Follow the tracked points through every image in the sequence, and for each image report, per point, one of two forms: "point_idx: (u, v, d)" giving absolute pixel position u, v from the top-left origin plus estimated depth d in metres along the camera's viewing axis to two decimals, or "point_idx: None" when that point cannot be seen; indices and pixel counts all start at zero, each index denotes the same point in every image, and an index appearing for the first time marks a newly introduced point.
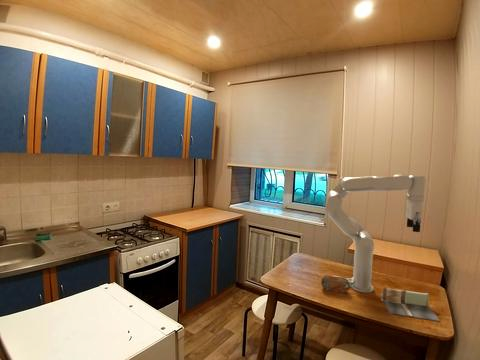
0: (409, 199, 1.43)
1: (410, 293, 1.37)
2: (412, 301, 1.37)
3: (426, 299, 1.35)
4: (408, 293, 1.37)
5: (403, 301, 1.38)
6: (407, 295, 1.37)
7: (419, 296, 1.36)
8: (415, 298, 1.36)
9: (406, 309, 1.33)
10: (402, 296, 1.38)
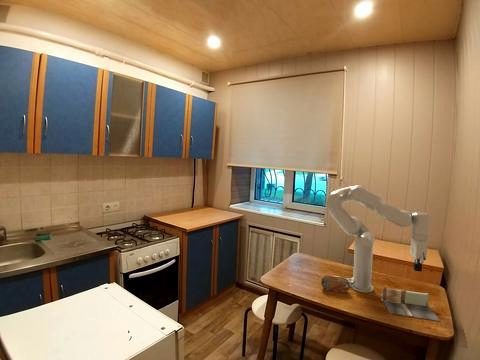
0: (413, 238, 1.38)
1: (410, 293, 1.37)
2: (412, 301, 1.37)
3: (426, 299, 1.35)
4: (408, 293, 1.37)
5: (403, 301, 1.38)
6: (407, 295, 1.37)
7: (419, 296, 1.36)
8: (415, 298, 1.36)
9: (406, 309, 1.33)
10: (402, 296, 1.38)
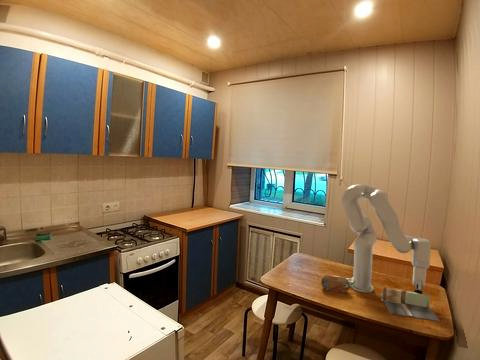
0: (413, 263, 1.37)
1: (410, 293, 1.37)
2: (412, 302, 1.37)
3: (427, 300, 1.34)
4: (408, 293, 1.37)
5: (403, 301, 1.38)
6: (407, 295, 1.37)
7: (419, 297, 1.35)
8: (416, 299, 1.36)
9: (406, 309, 1.33)
10: (402, 296, 1.38)
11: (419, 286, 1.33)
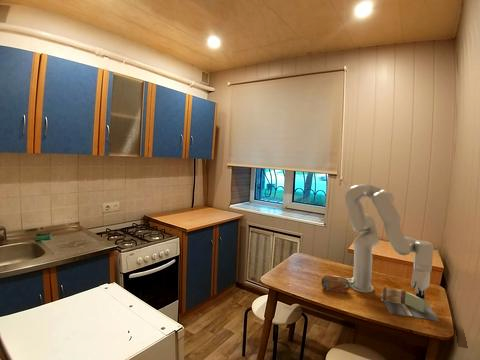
0: (413, 266, 1.34)
1: (408, 294, 1.35)
2: (410, 303, 1.35)
3: (423, 305, 1.29)
4: (407, 294, 1.36)
5: (403, 301, 1.38)
6: (406, 296, 1.37)
7: (417, 301, 1.32)
8: (413, 302, 1.33)
9: (406, 309, 1.33)
10: (402, 296, 1.38)
11: (416, 289, 1.31)
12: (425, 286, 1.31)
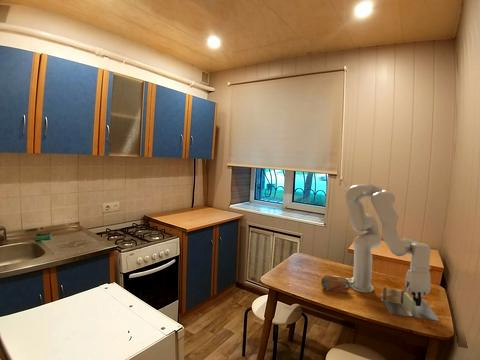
0: None
1: (405, 294, 1.35)
2: (405, 303, 1.35)
3: (411, 306, 1.29)
4: (404, 294, 1.36)
5: None
6: (403, 296, 1.37)
7: (408, 301, 1.32)
8: (407, 302, 1.33)
9: (406, 309, 1.33)
10: (402, 296, 1.38)
11: (407, 289, 1.31)
12: (419, 289, 1.29)
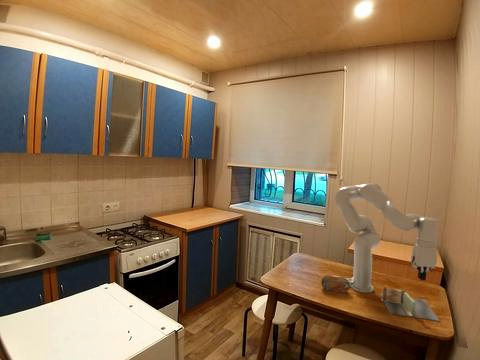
0: None
1: (405, 294, 1.35)
2: (405, 303, 1.35)
3: (411, 306, 1.29)
4: (404, 294, 1.36)
5: None
6: (403, 296, 1.37)
7: (408, 301, 1.32)
8: (407, 302, 1.33)
9: (406, 309, 1.33)
10: (402, 296, 1.38)
11: (413, 263, 1.30)
12: (425, 263, 1.28)
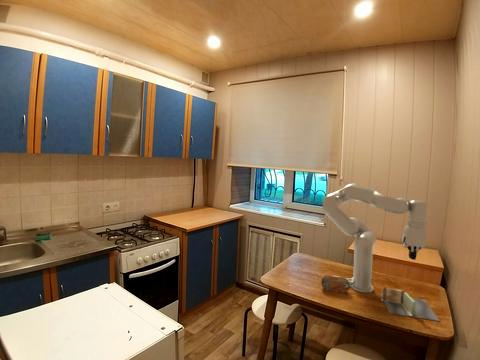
0: None
1: (405, 294, 1.35)
2: (405, 303, 1.35)
3: (411, 306, 1.29)
4: (404, 294, 1.36)
5: None
6: (403, 296, 1.37)
7: (408, 301, 1.32)
8: (407, 302, 1.33)
9: (406, 309, 1.33)
10: (402, 296, 1.38)
11: (404, 243, 1.39)
12: (415, 243, 1.36)
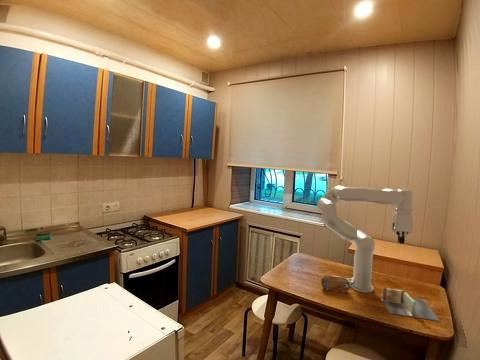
0: None
1: (405, 294, 1.35)
2: (405, 303, 1.35)
3: (411, 306, 1.29)
4: (404, 294, 1.36)
5: None
6: (403, 296, 1.37)
7: (408, 301, 1.32)
8: (407, 302, 1.33)
9: (406, 309, 1.33)
10: (402, 296, 1.38)
11: (393, 229, 1.51)
12: (403, 228, 1.49)
